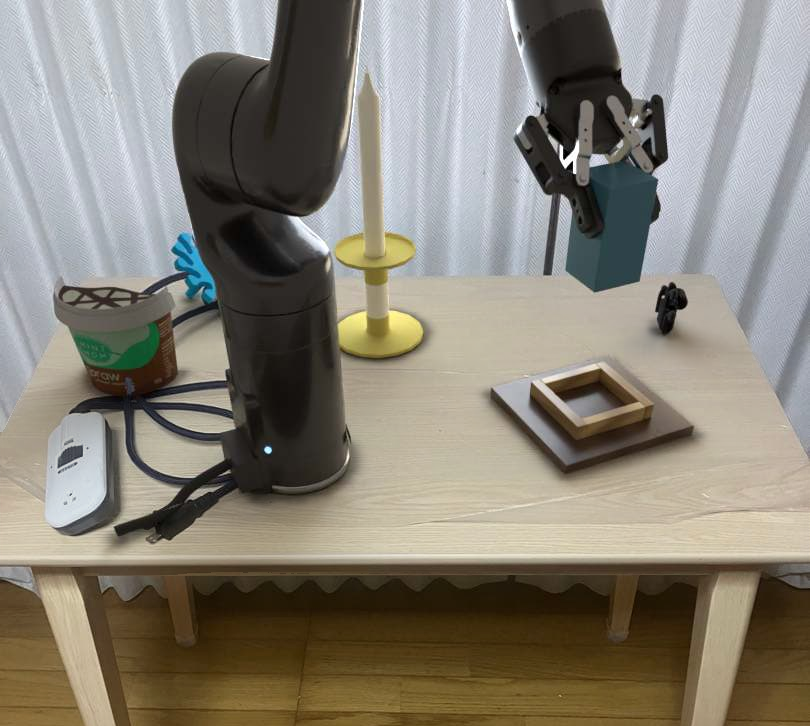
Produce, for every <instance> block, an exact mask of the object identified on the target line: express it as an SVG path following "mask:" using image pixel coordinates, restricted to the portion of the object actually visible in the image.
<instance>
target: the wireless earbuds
mask: <svg viewBox="0 0 810 726" xmlns="http://www.w3.org/2000/svg"><path fill="white" fill-rule="evenodd" d="M688 303H689V300H688V297H687V294H686V291H685V290H684V288H681V287H677V285H676V283H675V282H674V281H670V282H669V283H668V286H667V284H663V285H661V287H660V290H659V292H658V295H657V299H656V303H655V309H654V313H656V314H657V316H656V322H657V325H658V329H659V331H660V334H661V335H662V336H665V335H666V334H669V333H670V332H672V330H673V329H674V325H675V322H676V318H677V312H678V311H683V310H685V309H686V308H687V307H688Z"/></svg>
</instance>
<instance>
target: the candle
mask: <svg viewBox="0 0 810 726" xmlns="http://www.w3.org/2000/svg"><path fill="white" fill-rule="evenodd" d="M365 69H366V71H365V72H364V77H363V82H362V86H361V88H360V91H359V92H358V94H357V95H356V109H357V111H356V112H357V128H358V129H357V130H358V131H357V132H358V148H359V149H358V150H359V151H358V152H359V168H360V170H359V171H360V188H361V190H360V191H361V207H362V209H361V210H362V226H363V227H362V228H363V232H358V233H355V234H351V235H349V236H346V237H344V238H343V239H341V240H339V241H338V242H337V243H336V245H335V247H334V248H333V254H334V256H335V259H336V261H337V262H338V263H340V264H341V265H343V266H345V267H346V268H349V269H354V270H357V271H363V282H364V300H365V311H360V312H357V313H355V314H351V315H349V316H346V317H345V318H344V319H342V320H340V322H338V328H339V341H340V350H342V351H344V352H345V353H348V354H351V355H354V356H357V357H361V358H369V359H370V358H372V359H373V358H374V359H382V358H390V357H396V356H400V355H402V354H404V353H405V354H406V353H408V352H410V351H412V350H413V349H415V347H417V346H418V345H419V344H420V343H421V342H422V340H423V336H424V329H423V327H422V325H421V323H420V321H419V320H417V319H416V318H415V317H413V316H411V315H409V314H407V313H403V312H400V311H396V310H390V301H389V297H390V296H389V272H388V271H389V270H392V269H396V268H398V267H402V266H405V265H406V264H407V263H409V262H410V261H412V260H413V259H414V257H415V254H416V251H417V247H416V245H415V244H414V241H413V240H411V239H410V238H408V237H406V236H405V235H403V234H399V233H395V232H391V231H389V232H388V231H385V209H384V207H385V206H384V180H383V179H384V178H383V174H384V173H383V152H382V151H383V148H382V146H383V145H382V119H381V118H382V117H381V116H382V115H381V96H380V93H379V92H377V90H376V88H375V87H374V84H373V80H372V78H371V72H369V66H368V65H367V64H366V65H365Z"/></svg>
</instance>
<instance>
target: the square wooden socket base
mask: <svg viewBox="0 0 810 726" xmlns="http://www.w3.org/2000/svg"><path fill="white" fill-rule="evenodd" d="M490 396H491V398H492V399H493V400H494V401H495V402H496V403H497V404H498V405H499V406H500V407H501V408H502V409H503V410H504V412H505V413H507V414H508V416H509V417H510V418H511V419H512V421H514V422H515V423H516V424H517V425H518V426H519V428H521V429H522V431H524V432H525V433H526V435H527V436H528V437H529V438H530V440H532V441H533V442H534V443H535V445H537V446H538V447H539V448H540V450H541V451H543V453H545V455H546V456H547V457H548V458H549V459H550V460H551V461H552V462H553V463H554V465H556V466H557V467H558V469H559V470H561V471H562V473H563V474H564V475H568V474H571V473H574V472H577V471H581V470H584V469H587V468H590V467H593V466H597V465H600V464H603V463H607V462H609V461H612V460H614V459H619V458H621V457H624V456H627V455H631V454H634V453H637V452H640V451H643V450H646V449H650V448H653V447H657V446H659V445H662V444H665V443H668V442H672V441H675V440H677V439H681V438H684V437H688V436H691V435H693V432H694V429H695V425H694V424H693V423H692V422H690V421H689V420H688V419H687V418H685V416H683V414H681V413H680V412H678V411H677V410H676V409H675V408H673V406H671V405H670V404H669V403H667V402H666V401H665V400H664V399H663V398H661V396H659V394H657V393H655V392H654V391H653V390H652V389H651V388H649V386H647V385H646V384H645V383H644V382H642V381H641V380H640V379H639V378H637V376H635V375H634V374H633V373H631V371H629V370H628V369H627V368H625V366H623V365H622V364H620V363H619V362H618V361H617V360H616V359H614V358H613V357H612V356H611V355H610V354H606V355H603V356H599V357H596V358H592V359H589V360H585V361H582V362H578V363H573V364H570V365H567V366H564V367H559V368H557V369H553V370H549V371H545V372H541V373H537V374H535V375H531V376H526V377H524V378H523V377H522V378H519V379H516V380H512V381H509V382H506V383H502V384H498V385H494V386H491V387H490Z"/></svg>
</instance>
